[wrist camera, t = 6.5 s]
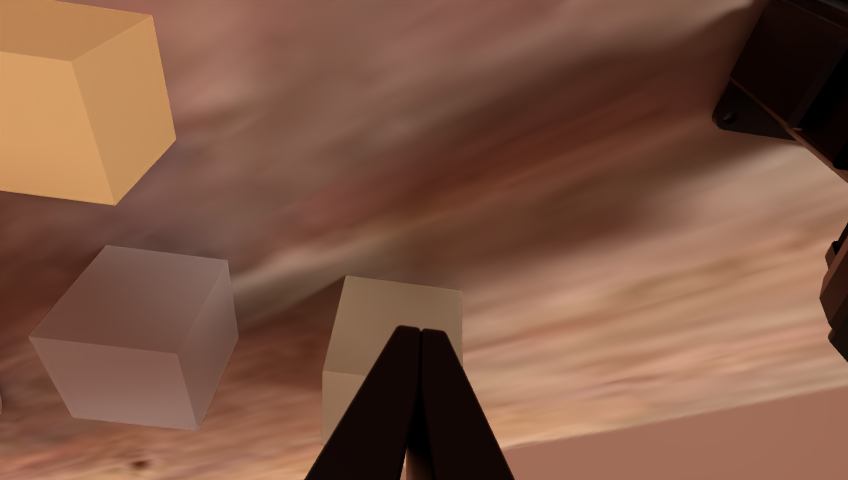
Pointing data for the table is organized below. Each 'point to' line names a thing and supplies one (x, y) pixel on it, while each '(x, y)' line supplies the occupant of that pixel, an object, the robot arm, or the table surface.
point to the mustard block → (79, 100)
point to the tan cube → (378, 333)
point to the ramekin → (0, 404)
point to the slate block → (141, 338)
